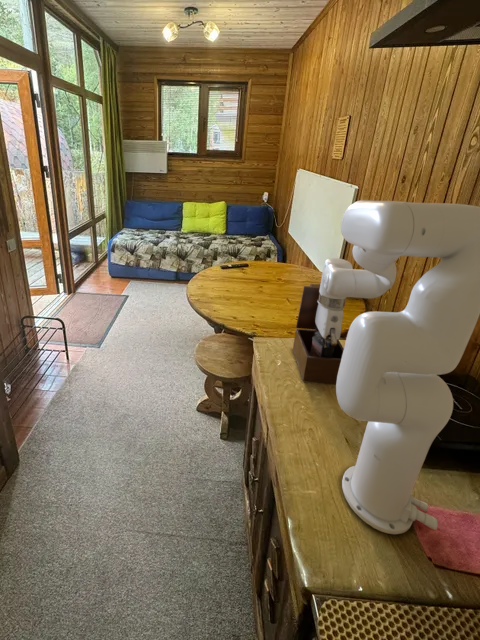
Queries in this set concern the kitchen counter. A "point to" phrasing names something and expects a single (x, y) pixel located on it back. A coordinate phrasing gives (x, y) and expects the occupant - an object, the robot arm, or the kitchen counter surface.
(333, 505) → the kitchen counter surface
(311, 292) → the lid
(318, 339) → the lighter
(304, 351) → the chest
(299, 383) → the kitchen counter surface
